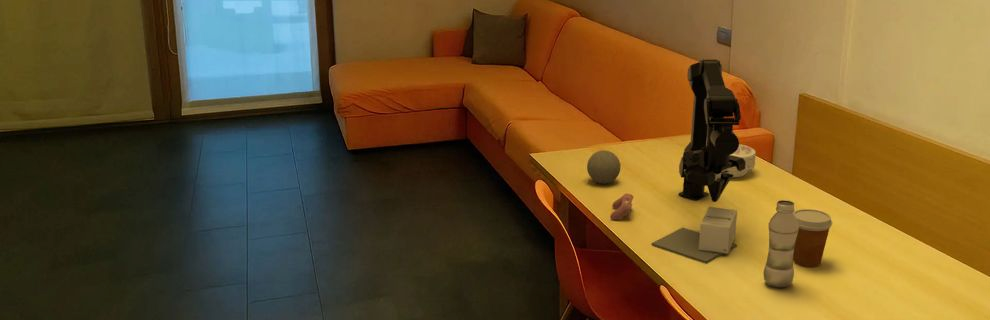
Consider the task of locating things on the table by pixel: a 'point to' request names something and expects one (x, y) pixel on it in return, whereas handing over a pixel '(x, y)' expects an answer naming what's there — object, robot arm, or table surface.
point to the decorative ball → (603, 166)
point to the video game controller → (622, 206)
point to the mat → (687, 245)
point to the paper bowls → (747, 155)
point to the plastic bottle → (781, 245)
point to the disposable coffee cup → (811, 236)
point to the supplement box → (718, 230)
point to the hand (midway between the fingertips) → (714, 201)
